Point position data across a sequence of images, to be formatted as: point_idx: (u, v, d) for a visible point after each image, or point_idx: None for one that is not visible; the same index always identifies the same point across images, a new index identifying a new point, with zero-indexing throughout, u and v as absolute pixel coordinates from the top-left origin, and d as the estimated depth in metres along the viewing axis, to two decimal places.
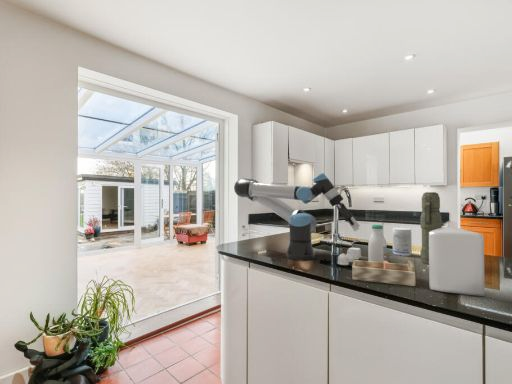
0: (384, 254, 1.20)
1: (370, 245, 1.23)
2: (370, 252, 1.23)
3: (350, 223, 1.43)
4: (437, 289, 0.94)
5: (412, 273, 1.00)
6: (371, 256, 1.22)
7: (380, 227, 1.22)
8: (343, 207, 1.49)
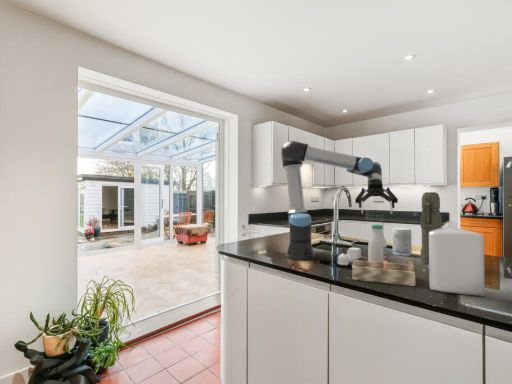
0: (384, 254, 1.20)
1: (370, 245, 1.23)
2: (370, 252, 1.23)
3: None
4: (437, 289, 0.94)
5: (412, 273, 1.00)
6: (371, 256, 1.22)
7: (380, 227, 1.22)
8: None
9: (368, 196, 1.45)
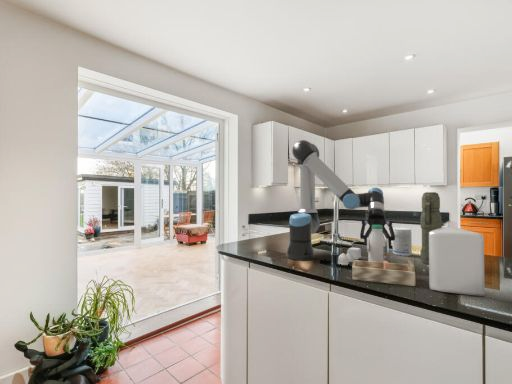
0: (384, 254, 1.20)
1: (370, 245, 1.23)
2: (370, 252, 1.23)
3: None
4: (437, 289, 0.94)
5: (412, 273, 1.00)
6: (371, 256, 1.22)
7: (380, 227, 1.22)
8: None
9: (371, 229, 1.30)
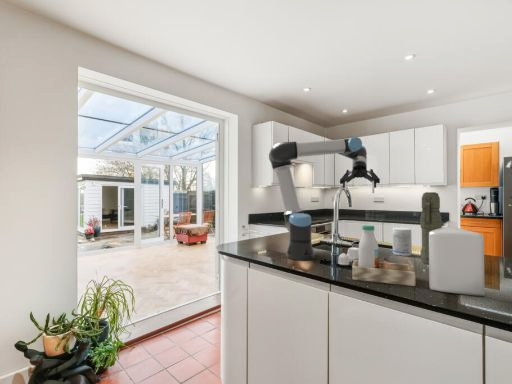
0: (375, 258, 1.09)
1: (360, 248, 1.11)
2: (360, 256, 1.11)
3: None
4: (437, 289, 0.94)
5: (412, 273, 1.00)
6: (361, 260, 1.10)
7: (371, 228, 1.10)
8: None
9: (352, 177, 1.51)
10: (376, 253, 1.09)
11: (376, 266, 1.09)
